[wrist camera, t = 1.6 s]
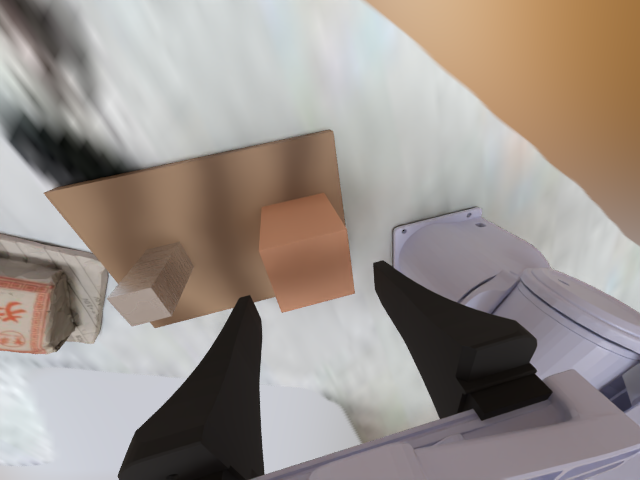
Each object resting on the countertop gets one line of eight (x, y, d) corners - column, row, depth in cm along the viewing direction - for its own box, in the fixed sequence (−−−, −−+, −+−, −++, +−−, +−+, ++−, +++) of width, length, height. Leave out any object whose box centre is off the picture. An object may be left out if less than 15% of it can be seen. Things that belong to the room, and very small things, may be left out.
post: (179, 241, 19) (151, 287, 14) (194, 266, 21) (171, 315, 16) (147, 249, 19) (106, 298, 14) (163, 274, 20) (131, 326, 16)
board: (329, 129, 18) (333, 131, 17) (348, 269, 26) (351, 276, 25) (56, 187, 17) (43, 192, 16) (159, 318, 24) (154, 328, 23)
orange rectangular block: (324, 192, 19) (346, 229, 14) (332, 244, 22) (354, 293, 17) (261, 207, 19) (258, 250, 13) (278, 258, 22) (281, 312, 16)
